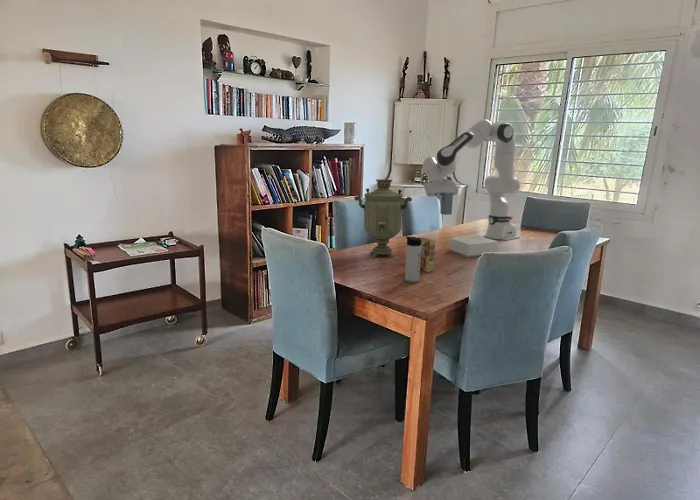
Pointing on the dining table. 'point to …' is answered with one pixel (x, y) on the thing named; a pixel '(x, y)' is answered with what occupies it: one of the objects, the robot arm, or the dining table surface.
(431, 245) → the candy box
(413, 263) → the travel mug
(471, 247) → the riser
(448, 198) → the grey tall block
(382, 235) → the samovar
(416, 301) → the dining table surface
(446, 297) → the dining table surface
